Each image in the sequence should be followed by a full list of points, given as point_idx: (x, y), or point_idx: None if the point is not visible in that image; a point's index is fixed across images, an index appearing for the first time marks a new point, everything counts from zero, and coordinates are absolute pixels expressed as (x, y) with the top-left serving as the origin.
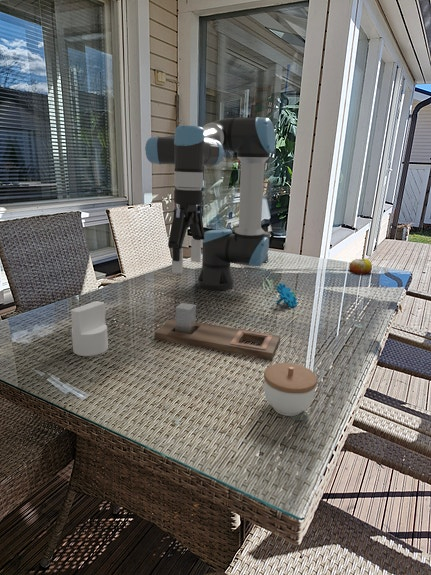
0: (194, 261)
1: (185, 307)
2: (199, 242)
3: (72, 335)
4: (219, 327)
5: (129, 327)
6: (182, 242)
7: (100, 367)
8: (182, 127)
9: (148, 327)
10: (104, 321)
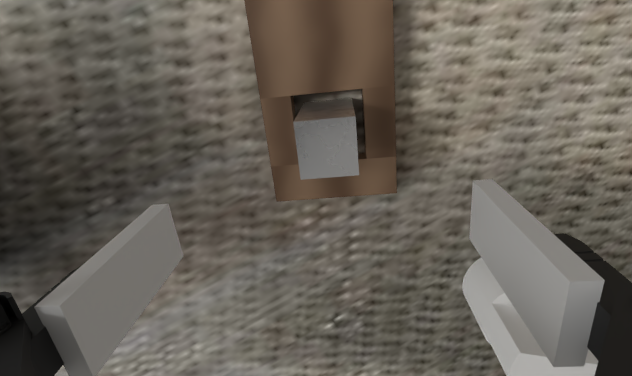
0: (176, 237)
1: (338, 144)
2: (76, 297)
3: None
4: (263, 28)
5: (356, 274)
6: (617, 339)
7: (591, 212)
8: None
9: (332, 235)
10: (498, 309)
